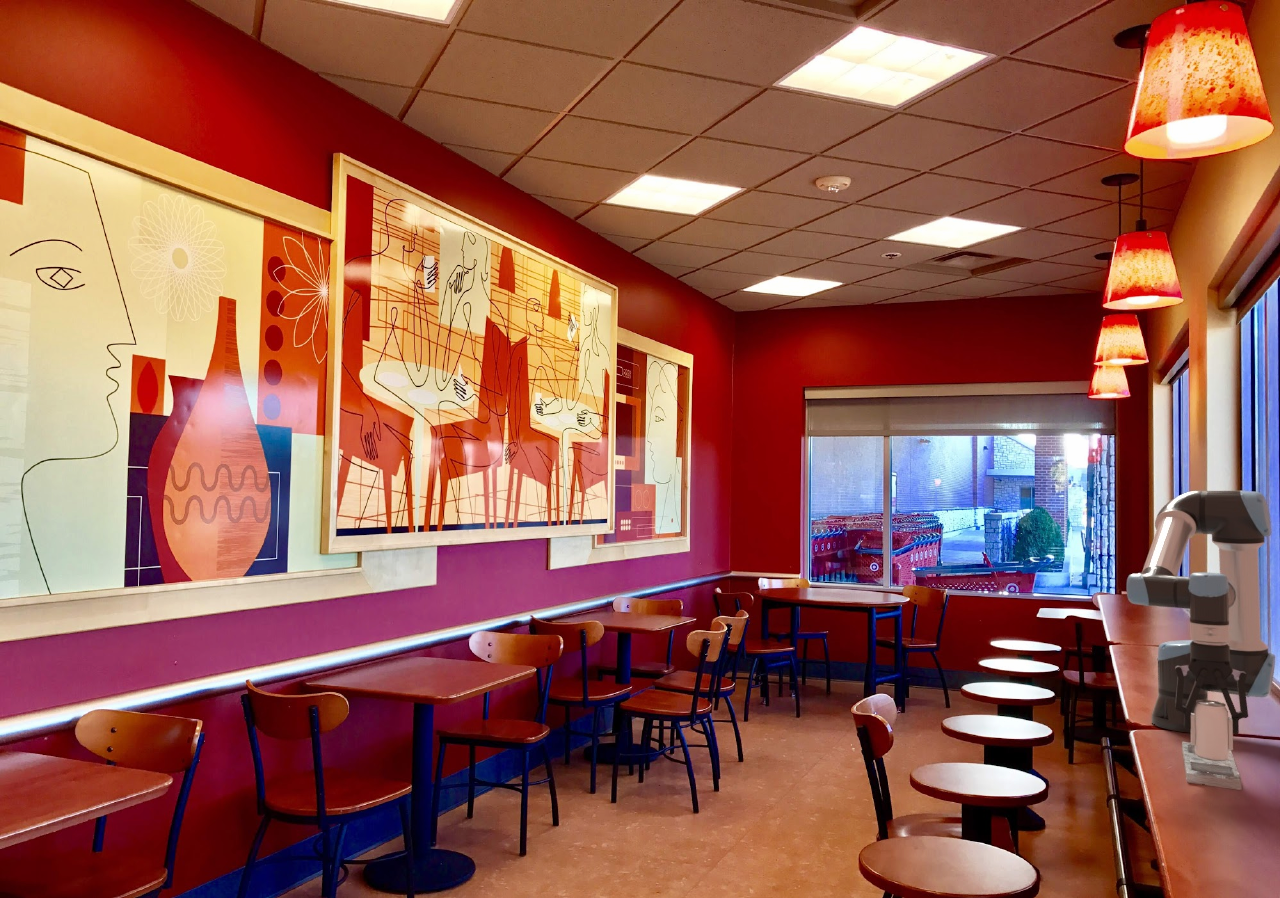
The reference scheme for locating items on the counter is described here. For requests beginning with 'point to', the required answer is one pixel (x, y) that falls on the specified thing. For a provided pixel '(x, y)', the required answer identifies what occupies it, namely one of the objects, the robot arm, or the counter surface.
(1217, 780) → the holder
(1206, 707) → the can
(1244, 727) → the counter surface
